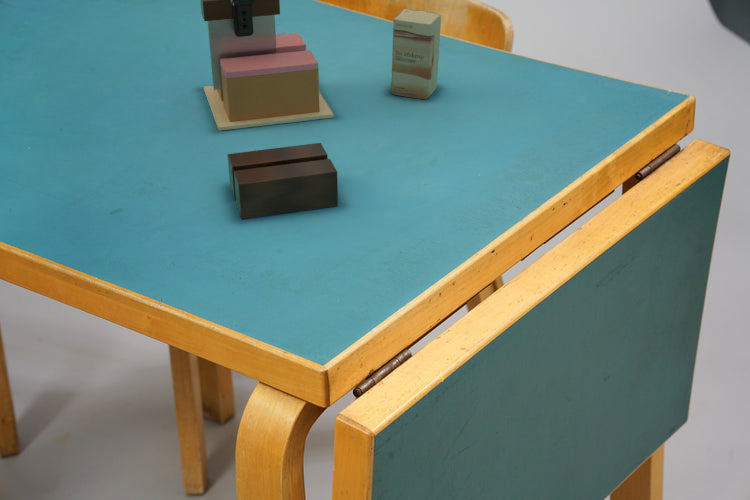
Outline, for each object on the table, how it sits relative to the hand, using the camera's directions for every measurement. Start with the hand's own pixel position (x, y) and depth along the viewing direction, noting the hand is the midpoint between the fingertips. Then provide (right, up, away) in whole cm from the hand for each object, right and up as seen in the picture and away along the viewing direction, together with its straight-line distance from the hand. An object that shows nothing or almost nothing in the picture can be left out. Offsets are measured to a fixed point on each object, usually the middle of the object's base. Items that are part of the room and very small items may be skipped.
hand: (241, 30), depth 117 cm
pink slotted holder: (+2, -8, +6) cm, 10 cm away
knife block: (+6, -21, -15) cm, 26 cm away
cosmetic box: (+21, -6, +9) cm, 24 cm away
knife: (0, -6, +4) cm, 7 cm away
